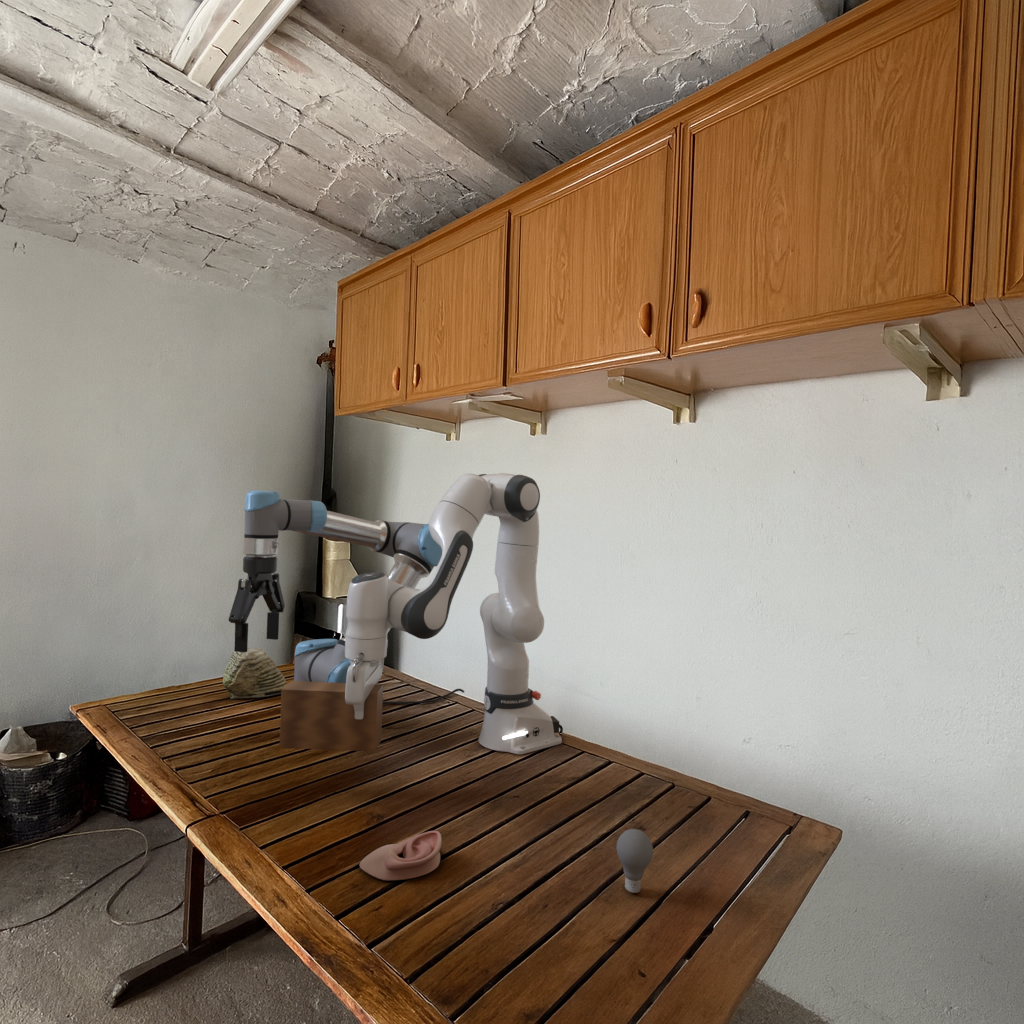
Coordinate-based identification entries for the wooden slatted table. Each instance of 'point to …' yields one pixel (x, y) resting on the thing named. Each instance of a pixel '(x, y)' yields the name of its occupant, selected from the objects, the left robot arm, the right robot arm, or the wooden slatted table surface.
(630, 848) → the light bulb
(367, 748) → the box
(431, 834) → the anatomical model
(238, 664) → the fossil
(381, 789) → the wooden slatted table surface
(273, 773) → the wooden slatted table surface
